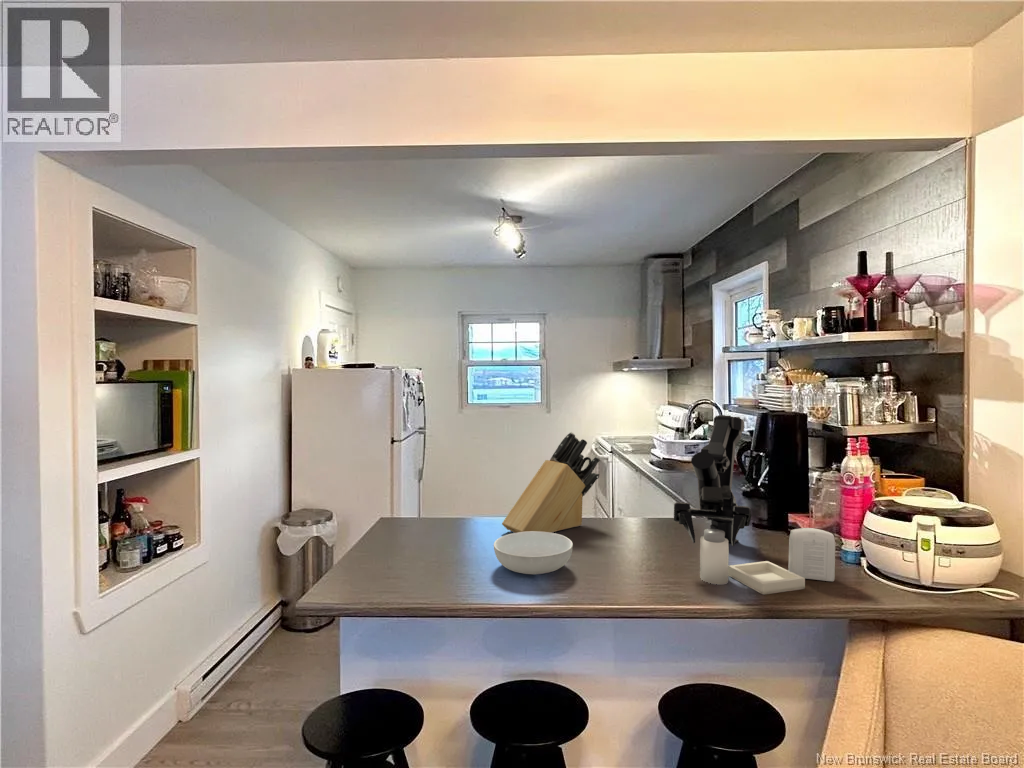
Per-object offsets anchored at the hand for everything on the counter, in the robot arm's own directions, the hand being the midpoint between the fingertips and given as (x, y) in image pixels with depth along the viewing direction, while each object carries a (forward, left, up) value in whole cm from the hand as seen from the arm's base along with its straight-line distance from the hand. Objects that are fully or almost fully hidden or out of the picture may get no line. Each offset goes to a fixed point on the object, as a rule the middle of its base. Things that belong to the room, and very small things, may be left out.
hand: (713, 543), depth 132 cm
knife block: (+23, -52, -9) cm, 58 cm away
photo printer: (-24, +7, -9) cm, 26 cm away
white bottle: (0, +1, -9) cm, 9 cm away
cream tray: (-11, +6, -9) cm, 15 cm away
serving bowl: (+41, -19, -9) cm, 46 cm away
